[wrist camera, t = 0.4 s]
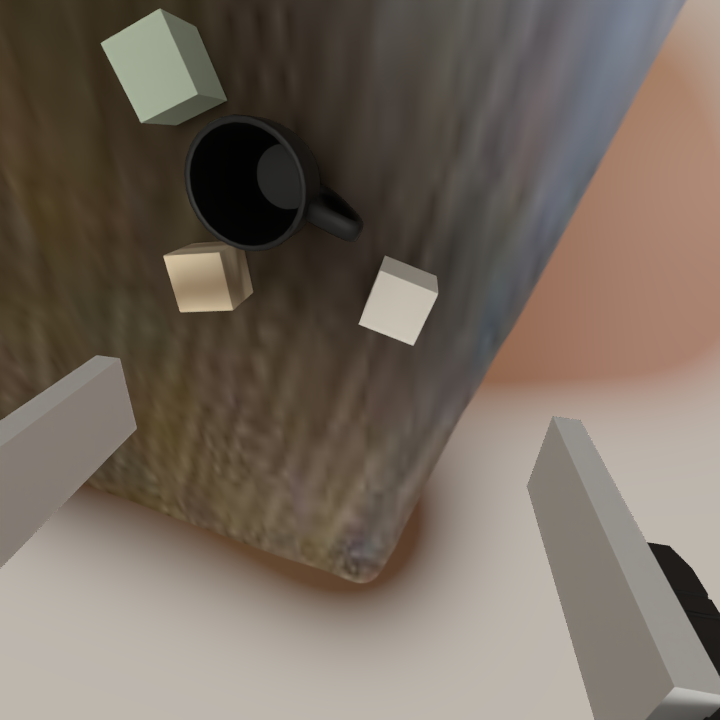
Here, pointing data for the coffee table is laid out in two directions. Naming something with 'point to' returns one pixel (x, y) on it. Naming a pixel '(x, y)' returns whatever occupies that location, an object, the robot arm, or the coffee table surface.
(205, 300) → the maple cube
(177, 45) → the sage cube
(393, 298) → the cream cube
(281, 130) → the mug
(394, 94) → the coffee table surface
